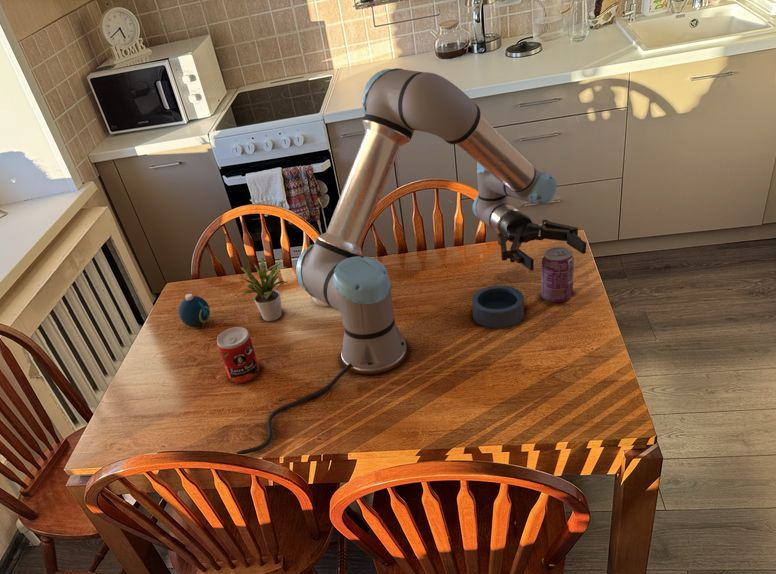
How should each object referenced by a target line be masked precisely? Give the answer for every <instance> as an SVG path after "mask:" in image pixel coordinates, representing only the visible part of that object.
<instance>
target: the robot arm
mask: <svg viewBox="0 0 776 574" xmlns="http://www.w3.org/2000/svg"><path fill="white" fill-rule="evenodd" d="M361 104H362V107H361V108H362V111H363V113H364V116H363V118H362V122H361V123H362V125H363V128H364V135H363V137H362V140H361V143H360V144H359V148H358V151H357V152H356V155H355V158H354V161H353V163H352V166H351V168H350V170H349V174H348V176H347V177H346V180H345V183H344V186H343V188H342V191H341V193H340V196H339V198H338V201H337V204H336V206H335V209H334V211H333V214H332V216H331V219H330V222H329V224H328V227H327V229H326V231H325V232H324V233H321V234H320V235H318V236H317V237H316V239H315V241H316V242H315V241H314V244H312V245H309V246H308V247H307V249H304V250H303V251H302V252H301V253H300V255H299V256H298V259H297V262H296V267H295V274H296V279H297V281H298V284H299V286H300V287H301V288H302V289H303V290H304V291H305V292H306V293H308V294H309V295H310V296H311V298H312V297H314V298H317V299H319V300H321V301H322V302H324V303H326V304H327V305H329V306H328V307H331V308H333V309H334V310H336V311H338V312H339V313H340V316H341V320H342V321H341V322H342V326H343V330H344V331H343V339H342V344H341V345H342V346H341V350H340V356H341V362H342V364H343V366H344V368H343V369H341V370H340V372H338V373H337V374H336V376H334V378H333V379H332V380H331V381H330V382H329V383H328V384H326V385H325V386H324V387H322V388H321V389H319V390H317V391H315V392H312V393H310V394H308V395H305V396H302V397H301V398H298V399H296V400H295V401H292V402H288V403H287V404H283V405H282V406H280V407H278V408H276V409H275V410H273V411H272V412H271V413H270V415H268V418H267V421H266V427H267V438H266V440H265V441H264V442H263V443H261V444H259V445H257V446H254V447H250V448H245V449H241V450H239V451H236V452H235V453H237V454H243V455H247V454H250V453H255V452H259V451H261V450H264V449H265V448H266V447H267V446H268V445H269V444H270V443H271V441H272V439H273V428H272V422H273V419H274V418H275V416H277V414H279V413H281V412H283V411H285V410H288V409H290V408H292V407H295V406H297V405H299V404H302V403H304V402H307V401H309V400H311V399H314V398H316V397H317V396H321V395H322V394H324V393H325V392H328V391H329V390H330V389H331V388H332V387H333V386H334V385H335V384H336V383H337V382H338V381H339V380H340V379H341V378H342V377H343V376H344V375H345V374H346V373H347V372H348V371H351V372H352V373H355V374H359V375H365V376H366V375H367V376H372V375H373V376H374V375H379V374H385V373H387V372H390V371H392V370H394V369H395V368H396V369H397V367H398V366H400V365H401V364H402V363H404V360H405V359H406V357H407V355H408V348H407V342H406V341H405V338H404V337H403V334H402V333H401V331H400V329H399V328H398V326H397V324H396V320H395V313H394V312H395V311H394V305H393V298H392V289H391V280H390V277H389V273H388V270H387V268H386V266H385V264H384V263H382V262H381V261H380V260H379V259H376V258H374V257H370V256H366V255H365V256H364V253H363V250H362V247H361V246H362V244H363V241H364V238H365V237H366V236H365V235H366V234H367V230H368V228H369V226H370V224H371V221H372V218H373V216H374V214H375V211H376V208H377V206H378V203H379V201H380V199H381V197H382V194H383V192H384V189H385V186H386V184H387V182H388V179H389V177H390V174H391V171H392V169H393V166H394V164H395V162H396V159H397V157H398V154H399V152H400V149H401V147H402V146H404V145H406V144H408V143H411V140H412V138H413V136H414V133H415V131H419V132H424V133H428V134H431V135H434V136H437V137H439V138H440V139H442V140H444V141H445V142H446V143H447V144H449V145H452V146H453V145H457V146H458V147H459V148H460V149H462V150H463V151H464V152H465V153H466V154H468V155H469V156H470V157H471V158H472V159H473V160H475V161H476V166H477V167H476V179H477V196H476V197H475V198H474V201H473V204H472V206H471V207H472V212H473V214H474V216H475V217H477V218H478V220H479V221H480V222H481V223H483V224H485V225H487V226H488V228H489V227H490V228H491V229H492V230H493V231H494V232H496V233H498V234H497V244H498V245H499V247H500V252H501V253H500V254H501V255H500V256H501V261H504V262H505V261H508V259H509V262H510V263H517V264H521V265H522V266H524V267H525V268H526V269H528V270H529V271H530V272H531V271H532V272H533V271H534V270H535V267H534V266H535V265H534V264H535V263H534V258H532V257H531V256H530V255H528V254H526V252H524V251H523V250H521V246H522V245H523V244H524V243H525V244H527V243H529V242H532V241H544V240H549V241H550V240H552V241H560V242H561V241H562V242H566V244H567V245H568V246H569V247H571V248H573V249H574V250H576V251H578V253H581V254H582V255H584V254H586V253H587V242H586V241H585V240H583V239H582V237H580V236H579V235H578V233H579V227H576V226H572V225H567V224H564V223H563V224H562V223H558V222H553V221H550V220H548V219H542V221H541V223H539V224H538V223H534V222H533V221H532V219H531V218H530V217H529V216H528V215H526V214H525V213H523V212H522V211H521V210H519V209H517V208H516V207H514V206H513V205H512V204H509V202H508V197H510V198H513V199H517V200H520V201H523V202H526V203H529V204H531V205H533V204H534V205H538V206H544V205H547V204H548V203H550V202H551V201H552V199H553V198H554V195H555V194H556V191H557V186H558V184H557V183H558V182H557V180H556V178H555V176H554V175H553V174H549V173H547V172H545V171H544V172H543V171H539V170H538V169H537V168H536V167H535V166H534V165H532V163H531V162H530V161H528V160H527V159H526V157H524V156H523V155H522V154H521V153H520V152H519V151H518V149H516V148H515V147H514V146H513V145H512V144H511V143H510V142H509V141H507V139H506V138H505V137H504V136H502V134H501V133H499V132H498V130H496V129H495V128H494V127H493V126H492V124H490V123H489V121H487V120H486V119H485V118H484V117H483V115H482V110H481V108H480V107H479V105H478V104H477V103H476V102H474V101H473V99H472V98H471V97H469V96H468V95H467V94H466V93H465V92H464V91H463V90H462V89H461V88H459V87H458V86H457V85H455V84H454V83H453V82H451V81H450V80H448V79H447V78H445V77H444V76H442V75H439V74H437V73H433V72H429V71H427V72H426V71H425V72H424V71H417V70H411V69H403V68H398V67H395V68H386V69H382V70H380V71H377V72H375V74H373V75H372V76H371V77H370V78H369V80H368V81H367V82H366V84H365V86H364V88H363V91H362V94H361ZM539 234H540V235H539ZM507 242H510V243H511V245H510V248H509V250H507V249H508V248H507Z"/></svg>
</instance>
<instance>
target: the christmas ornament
mask: <svg viewBox="0 0 776 574" xmlns="http://www.w3.org/2000/svg"><path fill="white" fill-rule="evenodd" d="M210 315H211V309H210V305H209V304H208V302H207V300H206V299H204V298H203V297H200V296H197V295H193V293H186V294H185V295H184V299H183V300H182V301H181V302H180V304H179V306H178V317H179V319H180V320H181V322H182V323H183V324H184V325H186V326H188V327H191V328H199V327H202V326H203V325H205V324H206V323H207V322H208V321H209V319H210Z"/></svg>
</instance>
